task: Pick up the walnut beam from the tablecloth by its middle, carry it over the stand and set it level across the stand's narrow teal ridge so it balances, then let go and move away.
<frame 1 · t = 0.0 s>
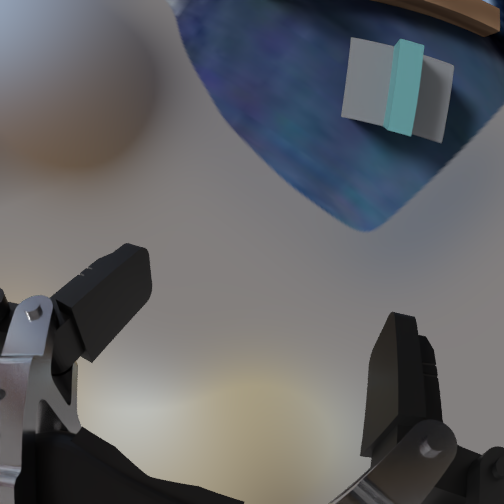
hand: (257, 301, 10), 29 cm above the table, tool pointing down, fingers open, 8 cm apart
balance stand: (390, 90, 28), on the table
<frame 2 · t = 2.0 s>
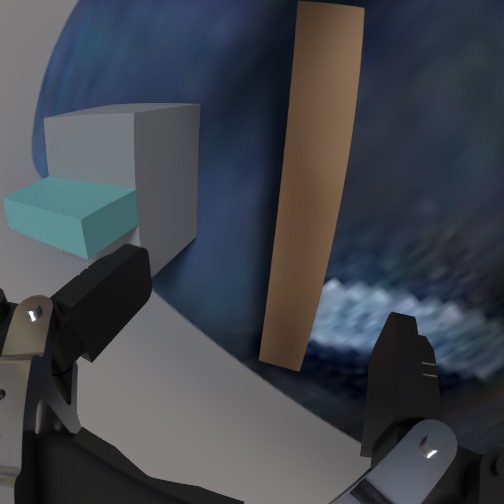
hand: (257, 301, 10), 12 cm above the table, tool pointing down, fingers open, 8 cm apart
balance stand: (152, 167, 22), on the table
walnut beam: (318, 194, 20), on the table
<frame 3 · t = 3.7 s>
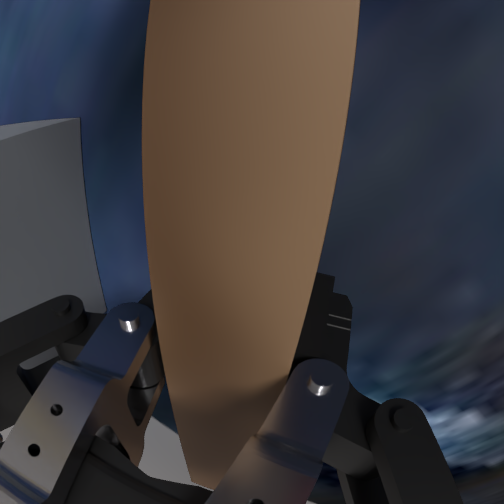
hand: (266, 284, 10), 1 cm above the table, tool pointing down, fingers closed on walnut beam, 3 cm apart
balance stand: (42, 213, 14), on the table
walnut beam: (272, 272, 11), on the table, touching gripper
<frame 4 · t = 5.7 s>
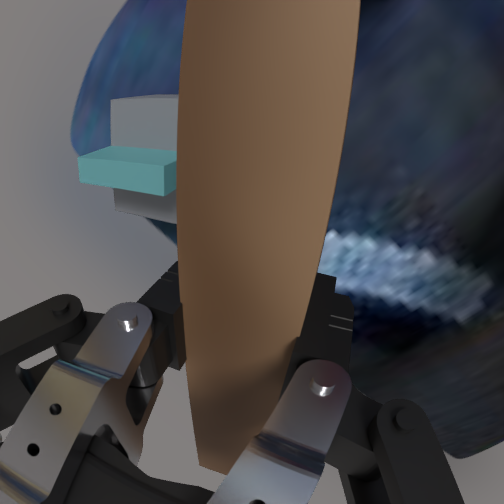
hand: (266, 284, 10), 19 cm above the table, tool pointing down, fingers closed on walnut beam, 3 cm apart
balance stand: (189, 144, 28), on the table
walnut beam: (280, 257, 12), point 17 cm above the table, touching gripper
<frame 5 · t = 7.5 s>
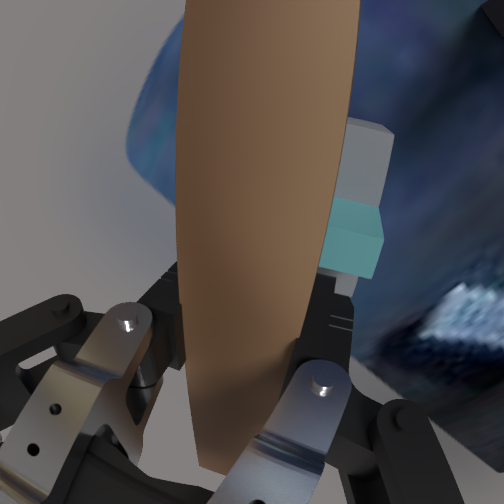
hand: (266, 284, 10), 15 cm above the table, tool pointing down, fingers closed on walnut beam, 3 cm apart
balance stand: (317, 177, 23), on the table
walnut beam: (280, 257, 12), point 13 cm above the table, touching gripper
when the fingers open (13 cm above the table, at t = 8.1 s): walnut beam stays where it is, resting on balance stand.
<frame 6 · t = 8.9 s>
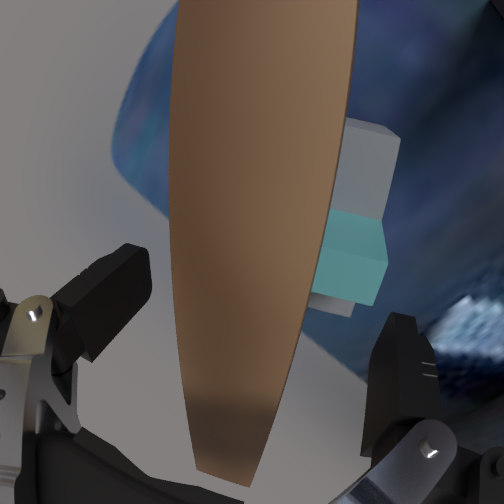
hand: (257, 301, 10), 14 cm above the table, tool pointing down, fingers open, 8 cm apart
balance stand: (314, 183, 21), on the table
walnut beam: (277, 260, 12), point 11 cm above the table, touching balance stand
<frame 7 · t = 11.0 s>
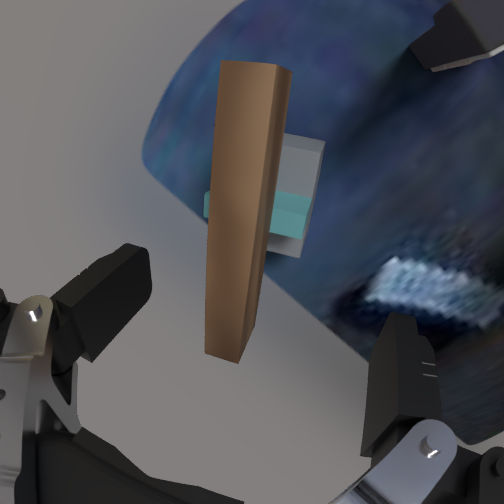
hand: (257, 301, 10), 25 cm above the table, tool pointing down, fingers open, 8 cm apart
dark piece: (453, 38, 20), on the table
balance stand: (280, 178, 33), on the table
walnut beam: (252, 215, 24), point 11 cm above the table, touching balance stand
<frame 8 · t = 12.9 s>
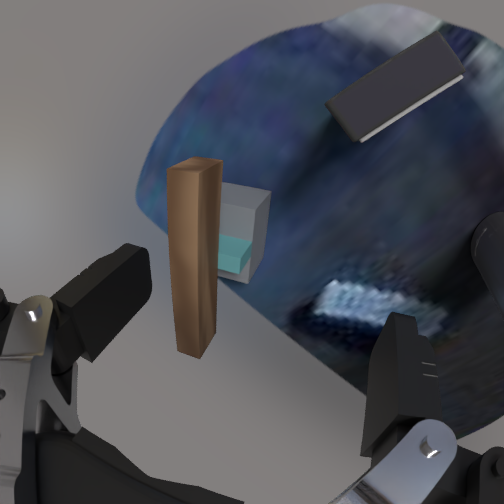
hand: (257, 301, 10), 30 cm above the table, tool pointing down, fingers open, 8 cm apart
dark piece: (381, 93, 30), on the table
balance stand: (239, 219, 43), on the table
walnut beam: (205, 257, 34), point 11 cm above the table, touching balance stand
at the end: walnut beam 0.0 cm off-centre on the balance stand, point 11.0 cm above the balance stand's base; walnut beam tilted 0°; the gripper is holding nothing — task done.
